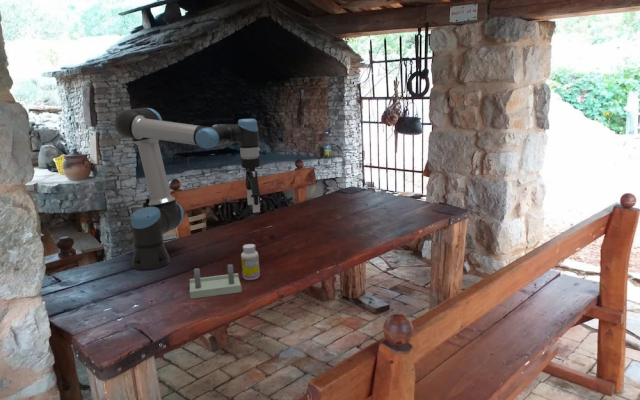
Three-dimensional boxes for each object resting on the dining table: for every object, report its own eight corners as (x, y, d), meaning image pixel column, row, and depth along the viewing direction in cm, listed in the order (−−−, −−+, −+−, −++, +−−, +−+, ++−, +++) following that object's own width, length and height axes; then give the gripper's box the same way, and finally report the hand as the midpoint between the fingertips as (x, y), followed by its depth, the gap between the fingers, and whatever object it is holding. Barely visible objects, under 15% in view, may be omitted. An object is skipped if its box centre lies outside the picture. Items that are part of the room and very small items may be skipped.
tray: (190, 298, 176) (188, 276, 174) (190, 285, 187) (188, 264, 185) (241, 292, 180) (239, 270, 178) (238, 279, 191) (236, 258, 189)
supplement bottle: (244, 274, 197) (242, 243, 194) (261, 273, 196) (259, 242, 193) (241, 280, 190) (238, 248, 187) (258, 280, 190) (256, 248, 187)
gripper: (265, 161, 191) (268, 214, 196) (254, 152, 214) (257, 200, 219) (245, 162, 189) (249, 216, 194) (236, 154, 212) (240, 202, 217)
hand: (253, 208), depth 207 cm, fingers open, 13 cm apart
